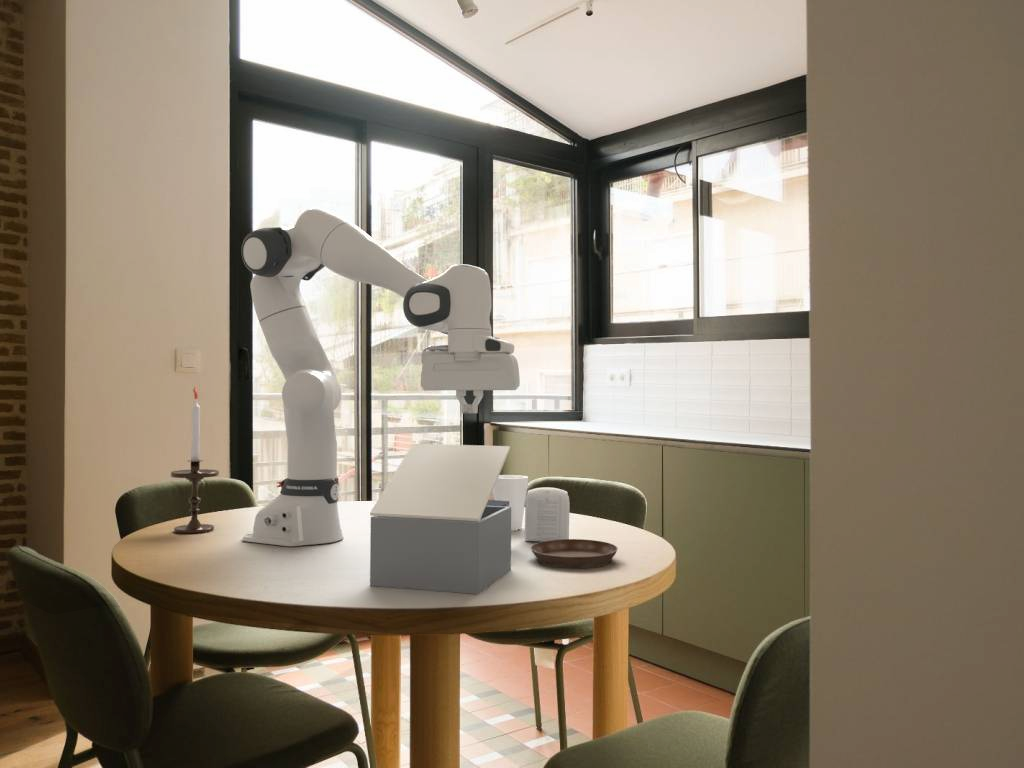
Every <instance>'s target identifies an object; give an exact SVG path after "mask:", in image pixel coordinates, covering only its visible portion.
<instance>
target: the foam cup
mask: <svg viewBox="0 0 1024 768" xmlns="http://www.w3.org/2000/svg"><path fill="white" fill-rule="evenodd" d="M528 487H529V476H528V475H527V476H526V475H520V474H517V475H516V474H499V477H498V479H497V481H496V484H495V486H494V488H493V491H492V493H491V494H492V500H499V501H509V507H511V530H515V531H519V530H518V529H520V530H522V527H523V520H524V515H525V513H524V512H525V500H526V496H527V492H528V490H527V489H528Z"/></svg>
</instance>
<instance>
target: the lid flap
mask: <svg viewBox="0 0 1024 768" xmlns="http://www.w3.org/2000/svg"><path fill="white" fill-rule="evenodd" d="M510 450H511V446H510V445H477V444H475V445H474V444H471V445H470V444H442V443H441V444H439V443H438V444H435V443H434V444H433V443H431V444H430V443H412V444H411V446H410V448H409V449H408V450H407V452H406V454H405V456H404V457H403V459H402V461H400V464H399V465H398V467H397V468H396V470H395V471H394V473H393V475H392V477H391V478H390V480H389V482H388V483H387V485H386V486H385V487H384V490H383V491H382V493H381V494H380V495H379V498H378V499H377V501H376V503H375V504H374V505H373V507H372V509H371V510H370V512H369V514H370V515H369V516H370V517H372V516H388V517H407V518H426V519H445V520H464V521H480V519H481V516H482V514H483V512H484V509H485V507H486V505H487V502H488V500H490V497H491V495H492V494H493V493H492V491H493V488H494V486H495V484H496V481H497V479H498V477H499V475H501V471H502V470H503V467H504V464H505V462H506V460H507V458H508V455H509V453H510Z"/></svg>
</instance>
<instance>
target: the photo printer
mask: <svg viewBox="0 0 1024 768" xmlns="http://www.w3.org/2000/svg"><path fill="white" fill-rule="evenodd" d="M570 508H571V507H570V496H569V495H568V491H566V490H565V489H560V488H556V487H549V486H548V487H547V486H546V487H543V486H542V487H536V488H532V489H529V490H527V493H526V499H525V506H524V512H525V513H524V541H525V542H536V543H539V542H543V541H550V540H561V539H570Z"/></svg>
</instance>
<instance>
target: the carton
mask: <svg viewBox="0 0 1024 768" xmlns="http://www.w3.org/2000/svg"><path fill="white" fill-rule="evenodd" d="M369 542H370V548H369V549H370V551H369V553H370V558H369V560H370V562H369V563H370V565H369V572H370V573H369V586H371V587H382V588H395V589H405V590H406V589H408V590H409V589H410V590H421V591H431V592H432V591H433V592H434V591H435V592H448V593H457V594H458V593H460V594H472V595H473V594H474V595H479V594H481V593H482V592H484V591H485V590H486V589H487V588H489V587H490V586H491V585H493V584H494V583H495V582H497V581H498V580H499V579H500V578H502V577H503V576H504V575H505V574H507V573H508V572H509V571H510V570H512V569H511V567H512V565H511V564H512V531H511V507H503V506H486V507H485V509H484V512H483V514H482V516H481V519H480V521H464V520H445V519H426V518H407V517H388V516H370V541H369Z"/></svg>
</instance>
